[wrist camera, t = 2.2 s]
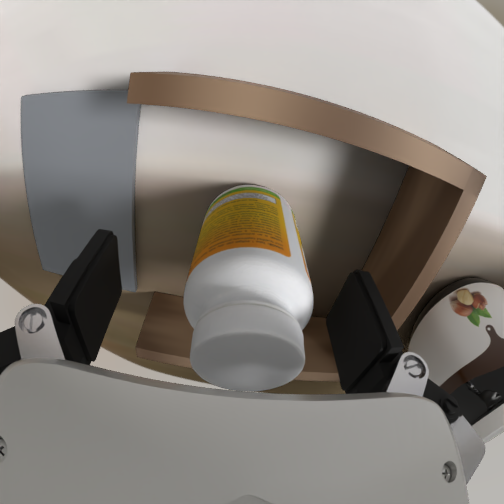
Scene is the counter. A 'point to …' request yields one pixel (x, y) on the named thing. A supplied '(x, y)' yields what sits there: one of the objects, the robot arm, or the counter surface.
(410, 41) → the counter surface
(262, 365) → the supplement bottle
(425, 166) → the open front box
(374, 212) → the counter surface
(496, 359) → the spread jar
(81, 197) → the slate mat
